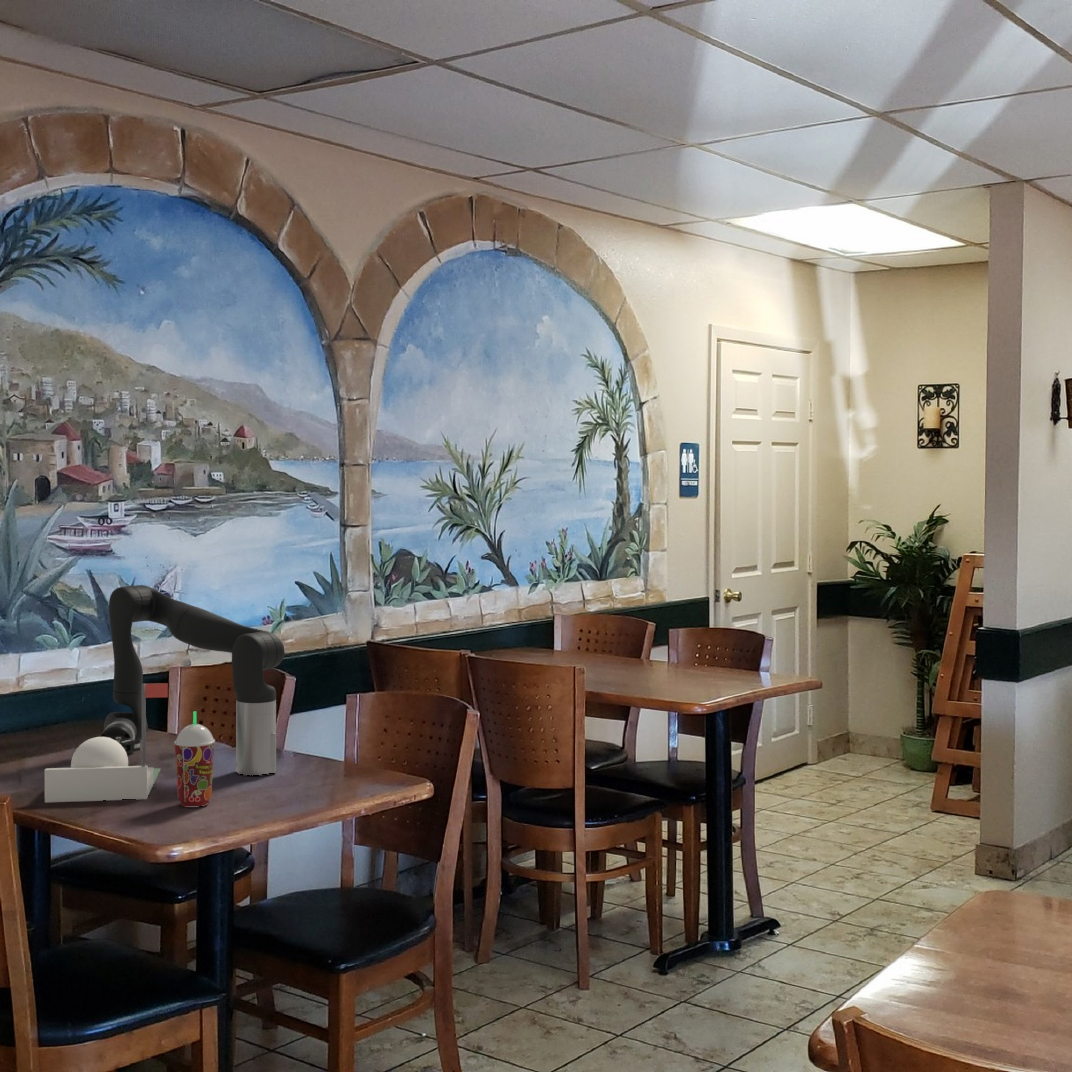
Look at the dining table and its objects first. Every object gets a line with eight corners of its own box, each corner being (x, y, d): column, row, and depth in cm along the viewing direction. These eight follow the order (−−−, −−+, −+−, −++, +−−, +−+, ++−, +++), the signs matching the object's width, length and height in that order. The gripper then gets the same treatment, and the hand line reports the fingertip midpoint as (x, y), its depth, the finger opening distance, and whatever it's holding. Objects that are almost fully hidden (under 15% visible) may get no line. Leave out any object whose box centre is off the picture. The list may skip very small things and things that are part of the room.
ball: (127, 725, 285) (121, 770, 277) (134, 756, 294) (128, 801, 285) (70, 726, 283) (63, 772, 275) (79, 758, 292) (71, 803, 283)
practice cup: (178, 769, 309) (178, 665, 308) (167, 798, 280) (167, 683, 279) (68, 772, 304) (67, 666, 303) (44, 802, 275) (44, 686, 274)
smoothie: (204, 810, 270) (204, 715, 269) (167, 808, 271) (167, 713, 271) (221, 801, 278) (221, 709, 277) (185, 799, 280) (185, 707, 279)
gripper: (88, 723, 310) (77, 737, 293) (145, 722, 313) (138, 736, 296) (88, 754, 311) (77, 770, 294) (145, 753, 313) (138, 768, 296)
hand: (107, 753), depth 295 cm, fingers closed
